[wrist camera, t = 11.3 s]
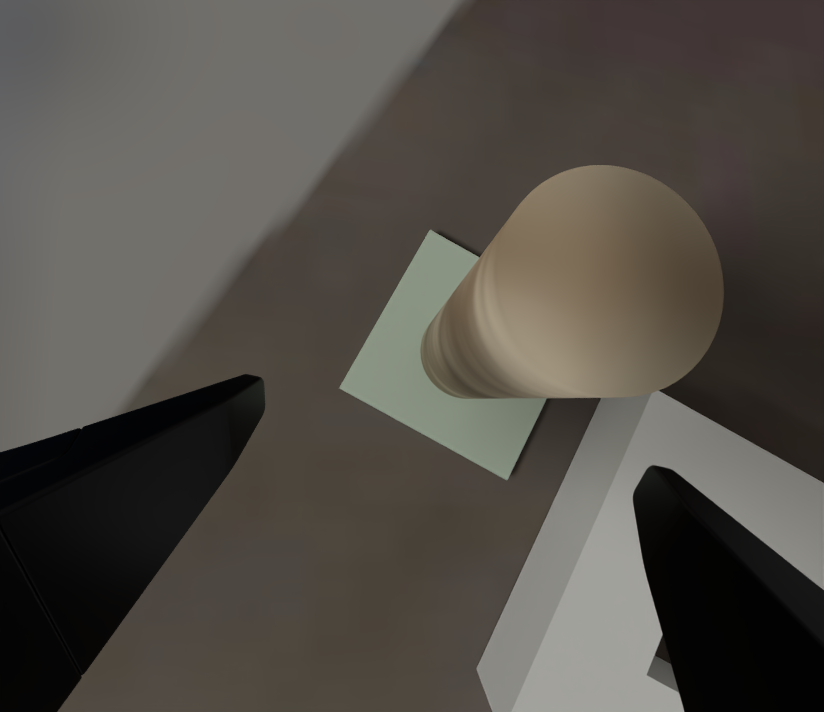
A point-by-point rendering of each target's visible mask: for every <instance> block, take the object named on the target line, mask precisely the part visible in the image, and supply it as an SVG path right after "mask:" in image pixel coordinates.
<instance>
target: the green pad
mask: <svg viewBox="0 0 824 712" xmlns="http://www.w3.org/2000/svg"><path fill="white" fill-rule="evenodd" d="M479 258H480V257H478V256H476V255H474V254H472V253H471V252H469V251H467V250H465V249H463V248H462V247H460V246H458V245H456V244H455V243H453V242H451V241H449V240H447V239H446V238H444V237H442V236H440V235H439V234H437V233H435V232H433V231H431V230H430V231H429V232H428V234H427V236H426V238H425V239H424V241H423V243H422V244H421V246H420V248H419V250H418V251H417V253H416V255H415V257H414V258H413V260H412V262H411V264H410V265H409V267H408V269H407V271H406V272H405V274H404V276H403V278H402V279H401V281H400V283H399V285H398V286H397V288H396V290H395V292H394V293H393V295H392V297H391V299H390V300H389V302H388V304H387V306H386V307H385V309H384V311H383V313H382V314H381V316H380V318H379V320H378V321H377V323H376V325H375V327H374V328H373V330H372V332H371V334H370V335H369V337H368V339H367V341H366V342H365V344H364V346H363V348H362V349H361V351H360V353H359V355H358V356H357V358H356V360H355V361H354V363H353V365H352V367H351V368H350V370H349V372H348V374H347V375H346V377H345V379H344V381H343V382H342V384H341V386H340V389H342V390H343V391H345V392H347V393H349V394H351V395H353V396H354V397H356V398H358V399H360V400H362V401H364V402H365V403H367V404H369V405H371V406H373V407H374V408H376V409H378V410H380V411H382V412H384V413H385V414H387V415H389V416H391V417H393V418H394V419H396V420H398V421H400V422H402V423H404V424H405V425H407V426H409V427H411V428H413V429H414V430H416V431H418V432H420V433H422V434H424V435H425V436H427V437H429V438H431V439H433V440H435V441H436V442H438V443H440V444H442V445H444V446H445V447H447V448H449V449H451V450H453V451H455V452H456V453H458V454H460V455H462V456H464V457H465V458H467V459H469V460H471V461H473V462H475V463H476V464H478V465H480V466H482V467H484V468H486V469H487V470H489V471H491V472H493V473H495V474H496V475H498V476H500V477H502V478H504V479H506V480H508V478H509V476H510V474H511V472H512V470H513V467H514V465H515V463H516V461H517V459H518V457H519V455H520V453H521V451H522V449H523V447H524V445H525V443H526V441H527V439H528V436H529V434H530V432H531V430H532V428H533V426H534V424H535V422H536V420H537V418H538V416H539V414H540V412H541V410H542V407H543V405H544V403H545V401H546V399H547V398H506V399H462V398H457V397H453V396H450V395H448V394H446V393H444V392H443V391H441V390H440V389H438V388H437V387H436V386H435V385H434V384H433V383H432V382H431V381H430V379H429V378H428V376H427V374H426V372H425V370H424V368H423V365H422V361H421V353H420V350H421V342H422V338H423V335H424V333H425V331H426V329H427V327H428V326H429V324H430V323H431V321H432V320H433V319H434V317H435V316H436V315H437V313H438V312H439V311H440V309H441V308H442V307H443V305H444V304H445V303H446V301H447V300H448V299H449V297H450V296H451V295H452V293H453V292H454V291H455V289H456V288H457V287H458V286H459V284H460V283H461V282H462V280H463V279H464V278H465V276H466V275H467V274H468V272H469V271H470V270H471V268H472V267H473V266H474V264H475V263H476V262H477V260H478V259H479Z"/></svg>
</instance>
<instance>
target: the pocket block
mask: <svg viewBox="0 0 824 712" xmlns="http://www.w3.org/2000/svg"><path fill="white" fill-rule="evenodd" d="M651 465H657V466H661V467H666V468H670V469H672V470H674V471H675V472H676V473H678V474H679V475H680V476H681V477H683V478H684V479H685V480H686V481H688V482H689V483H690V484H691V485H693V486H694V487H695V488H696V489H698V490H699V491H700V492H701V493H703V494H704V495H705V496H706V497H708V498H709V499H710V500H711V501H713V502H714V503H715V504H716V505H718V506H719V507H720V508H721V509H723V510H724V511H725V512H727V513H728V514H729V515H730V516H732V517H733V518H734V519H735V520H737V521H738V522H739V523H740V524H742V525H743V526H744V527H745V528H747V529H748V530H749V531H750V532H752V533H753V534H754V535H755V536H757V537H758V538H759V539H760V540H762V541H763V542H764V543H765V544H767V545H768V546H769V547H770V548H772V549H773V550H774V551H775V552H777V553H778V554H779V555H780V556H782V557H783V558H784V559H785V560H787V561H788V562H789V563H790V564H792V565H793V566H794V567H795V568H797V569H798V570H799V571H800V572H802V573H803V574H804V575H806V576H807V577H808V578H809V579H811V580H812V581H813V582H814V583H816V584H817V585H818V586H819V587H821V588H822V589H823V590H824V483H823V482H821V481H819V480H817V479H816V478H814V477H812V476H810V475H809V474H807V473H805V472H803V471H801V470H800V469H798V468H796V467H794V466H792V465H791V464H789V463H787V462H785V461H783V460H782V459H780V458H778V457H776V456H775V455H773V454H771V453H769V452H767V451H766V450H764V449H762V448H760V447H758V446H757V445H755V444H753V443H751V442H750V441H748V440H746V439H744V438H742V437H741V436H739V435H737V434H735V433H733V432H732V431H730V430H728V429H726V428H724V427H723V426H721V425H719V424H717V423H716V422H714V421H712V420H710V419H708V418H707V417H705V416H703V415H701V414H699V413H698V412H696V411H694V410H692V409H690V408H689V407H687V406H685V405H683V404H682V403H680V402H678V401H676V400H674V399H673V398H671V397H669V396H667V395H665V394H664V393H662V392H660V391H656V392H653V393H650V394H645V395H641V396H635V397H623V398H601V399H600V402H599V404H598V406H597V408H596V410H595V413H594V415H593V417H592V419H591V421H590V423H589V426H588V428H587V430H586V432H585V434H584V436H583V439H582V441H581V443H580V445H579V447H578V449H577V452H576V454H575V456H574V458H573V460H572V462H571V465H570V467H569V469H568V471H567V473H566V475H565V478H564V480H563V482H562V484H561V486H560V488H559V491H558V493H557V495H556V497H555V499H554V501H553V504H552V506H551V508H550V510H549V512H548V515H547V517H546V519H545V521H544V523H543V525H542V528H541V530H540V532H539V534H538V536H537V538H536V541H535V543H534V545H533V547H532V549H531V551H530V554H529V556H528V558H527V560H526V562H525V564H524V567H523V569H522V571H521V573H520V575H519V577H518V580H517V582H516V584H515V586H514V588H513V590H512V593H511V595H510V597H509V599H508V601H507V603H506V606H505V608H504V610H503V612H502V614H501V616H500V619H499V621H498V623H497V625H496V627H495V630H494V632H493V634H492V636H491V638H490V640H489V643H488V645H487V647H486V649H485V651H484V653H483V656H482V658H481V660H480V662H479V664H478V666H477V672H478V674H479V677H480V680H481V682H482V685H483V688H484V690H485V693H486V696H487V698H488V701H489V704H490V707H491V709H492V712H684V709H683V705H682V702H681V698H680V695H679V691H678V688H677V684H676V680H675V677H674V673H673V670H672V666H671V664H670V663H668V662H666V661H664V660H662V659H661V658H659V657H657V656H655V652H656V650H657V647H658V645H659V642H660V640H661V637H662V635H663V634H662V631H661V627H660V624H659V620H658V616H657V613H656V609H655V606H654V602H653V599H652V595H651V591H650V588H649V584H648V581H647V577H646V573H645V569H644V564H643V560H642V554H641V548H640V542H639V536H638V530H637V524H636V518H635V512H634V506H633V493H634V490H635V488H636V486H637V485H638V483H639V481H640V480H641V478H642V476H643V474H644V473H645V471H646V469H647V468H648V467H649V466H651Z"/></svg>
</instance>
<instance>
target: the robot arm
mask: <svg viewBox="0 0 824 712" xmlns="http://www.w3.org/2000/svg"><path fill="white" fill-rule="evenodd" d="M264 410H265V390H264V381H263V379H262V378H261V377H258V376H253V375H249V374H244V375H241V376H238V377H235V378H232V379H228V380H225V381H222V382H219V383H216V384H213V385H210V386H207V387H204V388H201V389H198V390H195V391H192V392H188V393H185V394H182V395H179V396H176V397H173V398H170V399H167V400H164V401H161V402H158V403H155V404H152V405H149V406H145V407H142V408H139V409H136V410H133V411H130V412H127V413H124V414H121V415H118V416H115V417H112V418H109V419H105V420H102V421H99V422H96V423H93V424H90V425H87V426H84V427H83V428H82V429H80V428H77V429H74V430H71V431H68V432H65V433H62V434H59V435H56V436H53V437H50V438H46V439H44V440H40V441H37V442H34V443H31V444H27V445H24V446H21V447H17V448H14V449H10V450H7V451H3V452H0V712H57V711H58V710H59V709H60V707H61V706H62V704H63V703H64V702H65V700H66V699H67V698H68V696H69V695H70V693H71V692H72V691H73V689H74V688H75V686H76V685H77V684H78V682H79V681H80V680H81V678H82V676H81V675H83V674H84V673H85V672H86V671H87V669H88V668H89V667H90V665H91V664H92V662H93V661H94V660H95V658H96V657H97V655H98V654H99V653H100V651H101V650H102V648H103V647H104V646H105V644H106V643H107V642H108V640H109V639H110V637H111V636H112V635H113V633H114V632H115V630H116V629H117V628H118V626H119V625H120V624H121V622H122V621H123V619H124V618H125V617H126V615H127V614H128V612H129V611H130V610H131V608H132V607H133V605H134V604H135V603H136V601H137V600H138V599H139V597H140V596H141V594H142V593H143V592H144V590H145V589H146V587H147V586H148V585H149V583H150V582H151V581H152V579H153V578H154V576H155V575H156V574H157V572H158V571H159V569H160V568H161V567H162V565H163V564H164V563H165V561H166V560H167V558H168V557H169V556H170V554H171V553H172V551H173V550H174V549H175V547H176V546H177V544H178V543H179V542H180V540H181V539H182V538H183V536H184V535H185V533H186V532H187V531H188V529H189V528H190V526H191V525H192V524H193V522H194V521H195V520H196V518H197V517H198V515H199V514H200V513H201V511H202V510H203V508H204V507H205V506H206V504H207V503H208V501H209V500H210V499H211V497H212V496H213V495H214V493H215V492H216V490H217V489H218V488H219V486H220V485H221V483H222V482H223V481H224V479H225V478H226V477H227V475H228V474H229V472H230V471H231V469H232V468H233V466H234V465H235V463H236V461H237V460H238V458H239V456H240V455H241V453H242V451H243V449H244V447H245V446H246V444H247V442H248V440H249V439H250V437H251V435H252V433H253V432H254V430H255V428H256V426H257V424H258V423H259V421H260V419H261V417H262V415H263V413H264ZM633 506H634V512H635V518H636V524H637V530H638V536H639V542H640V548H641V554H642V560H643V564H644V569H645V573H646V577H647V581H648V584H649V588H650V591H651V595H652V599H653V602H654V606H655V609H656V613H657V616H658V620H659V624H660V627H661V631H662V634H663V638H664V641H665V645H666V648H667V652H668V656H669V659H670V663H671V666H672V670H673V673H674V677H675V680H676V684H677V688H678V691H679V695H680V698H681V702H682V705H683V709H684V712H824V590H823V589H822V588H821V587H819V586H818V585H817V584H816V583H814V582H813V581H812V580H811V579H809V578H808V577H807V576H806V575H804V574H803V573H802V572H800V571H799V570H798V569H797V568H795V567H794V566H793V565H792V564H790V563H789V562H788V561H787V560H785V559H784V558H783V557H782V556H780V555H779V554H778V553H777V552H775V551H774V550H773V549H772V548H770V547H769V546H768V545H767V544H765V543H764V542H763V541H762V540H760V539H759V538H758V537H757V536H755V535H754V534H753V533H752V532H750V531H749V530H748V529H747V528H745V527H744V526H743V525H742V524H740V523H739V522H738V521H737V520H735V519H734V518H733V517H732V516H730V515H729V514H728V513H727V512H725V511H724V510H723V509H721V508H720V507H719V506H718V505H716V504H715V503H714V502H713V501H711V500H710V499H709V498H708V497H706V496H705V495H704V494H703V493H701V492H700V491H699V490H698V489H696V488H695V487H694V486H693V485H691V484H690V483H689V482H688V481H686V480H685V479H684V478H683V477H681V476H680V475H679V474H678V473H676V472H675V471H674V470H672V469H670V468H666V467H661V466H657V465H651V466H649V467H648V468H647V469H646V471H645V473H644V474H643V476H642V478H641V480H640V481H639V483H638V485H637V486H636V488H635V490H634V493H633Z"/></svg>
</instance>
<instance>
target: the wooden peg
mask: <svg viewBox="0 0 824 712" xmlns="http://www.w3.org/2000/svg"><path fill="white" fill-rule="evenodd" d="M723 300H724V283H723V275H722V268H721V264H720V260H719V257H718V253H717V250H716V248H715V245H714V243H713V240H712V238H711V236H710V234H709V232H708V231H707V229H706V227H705V225H704V224H703V222H702V221H701V219H700V218H699V217H698V215H697V214H696V212H695V211H694V210H693V209H692V208H691V207H690V206H689V205H688V204H687V202H686V201H685V200H684V199H682V198H681V197H680V196H679V195H678V194H677V193H676V192H674V191H673V190H672V189H670V188H669V187H667V186H666V185H664V184H663V183H661V182H660V181H658V180H656V179H654V178H652V177H650V176H648V175H646V174H643V173H640V172H638V171H635V170H631V169H627V168H623V167H618V166H609V165H591V166H584V167H578V168H574V169H571V170H567V171H564V172H562V173H560V174H558V175H555V176H553V177H551V178H550V179H548V180H546V181H545V182H543V183H542V184H540V185H539V186H538V187H536V188H535V189H534V190H533V191H532V192H531V193H529V194H528V196H527V197H526V198H525V199H524V200H523V201H522V202H521V203H520V205H519V206H518V207H517V209H516V210H515V211H514V213H513V214H512V215H511V217H510V218H509V219H508V221H507V222H506V223H505V224H504V226H503V227H502V228H501V230H500V231H499V232H498V234H497V235H496V236H495V238H494V239H493V240H492V242H491V243H490V244H489V246H488V247H487V248H486V250H485V251H484V252H483V254H482V255H481V256H480V258H479V259H478V260H477V262H476V263H475V264H474V266H473V267H472V268H471V270H470V271H469V272H468V274H467V275H466V276H465V278H464V279H463V280H462V282H461V283H460V284H459V286H458V287H457V288H456V289H455V291H454V292H453V293H452V295H451V296H450V297H449V299H448V300H447V301H446V303H445V304H444V305H443V307H442V308H441V309H440V311H439V312H438V313H437V315H436V316H435V317H434V319H433V320H432V321H431V323H430V324H429V326H428V327H427V329H426V331H425V333H424V335H423V338H422V342H421V350H420V353H421V361H422V365H423V368H424V370H425V372H426V374H427V376H428V378H429V379H430V381H431V382H432V383H433V384H434V385H435V386H436V387H437V388H438V389H440V390H441V391H443V392H444V393H446V394H448V395H450V396H453V397H457V398H462V399H506V398H623V397H635V396H641V395H645V394H650V393H653V392H656V391H658V390H661V389H664V388H666V387H668V386H670V385H671V384H673V383H675V382H677V381H678V380H680V379H681V378H682V377H684V376H685V375H686V374H687V373H689V372H690V371H691V370H692V369H693V368H694V367H695V366H696V365H697V364H698V363H699V362H700V360H701V359H702V357H703V356H704V355H705V353H706V352H707V350H708V349H709V347H710V345H711V343H712V341H713V339H714V337H715V335H716V332H717V329H718V326H719V324H720V319H721V315H722V310H723Z"/></svg>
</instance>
